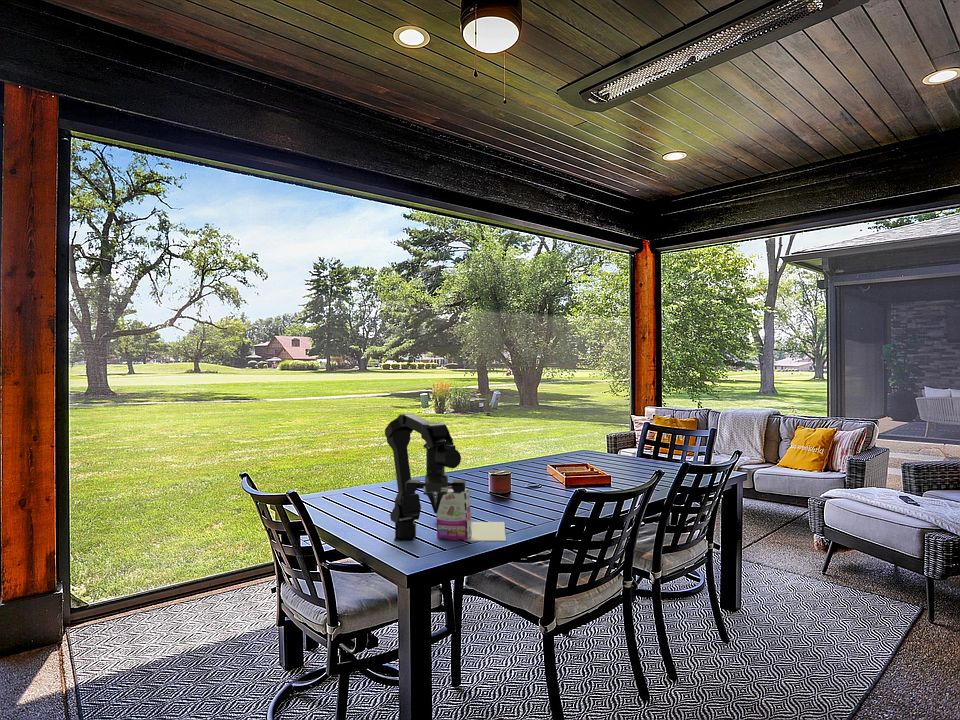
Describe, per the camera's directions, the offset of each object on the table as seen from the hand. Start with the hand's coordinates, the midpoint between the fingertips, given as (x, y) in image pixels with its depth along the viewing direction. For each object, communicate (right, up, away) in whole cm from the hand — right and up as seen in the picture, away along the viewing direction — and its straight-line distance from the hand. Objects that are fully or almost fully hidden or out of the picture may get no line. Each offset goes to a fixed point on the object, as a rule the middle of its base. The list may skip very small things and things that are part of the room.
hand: (435, 513), depth 179 cm
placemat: (+16, -13, +23) cm, 31 cm away
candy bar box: (+5, -13, +16) cm, 21 cm away
